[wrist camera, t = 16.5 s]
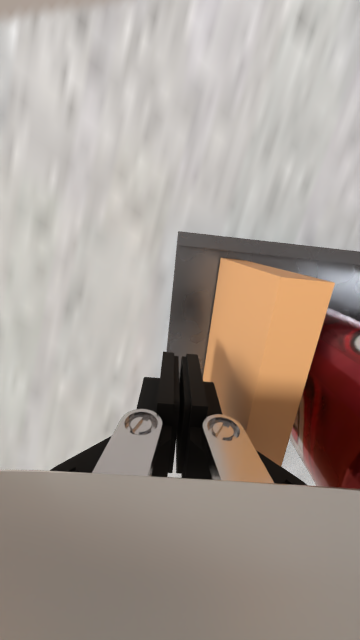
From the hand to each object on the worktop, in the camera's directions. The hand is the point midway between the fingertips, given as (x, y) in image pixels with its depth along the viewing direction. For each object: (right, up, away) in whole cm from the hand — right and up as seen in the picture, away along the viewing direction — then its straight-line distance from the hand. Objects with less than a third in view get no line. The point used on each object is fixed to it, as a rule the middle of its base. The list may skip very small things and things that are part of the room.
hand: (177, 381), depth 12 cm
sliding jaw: (+3, +2, +6) cm, 7 cm away
